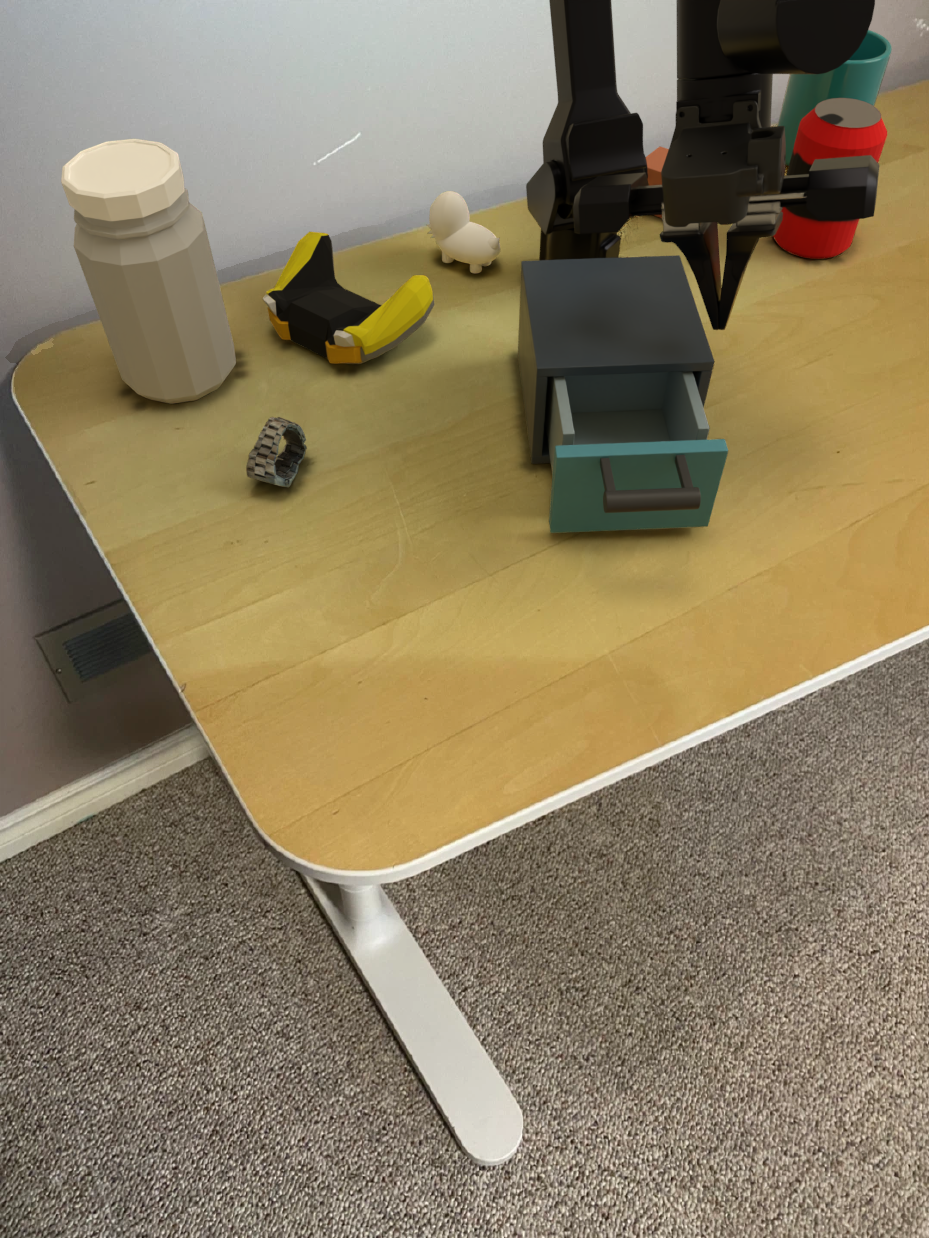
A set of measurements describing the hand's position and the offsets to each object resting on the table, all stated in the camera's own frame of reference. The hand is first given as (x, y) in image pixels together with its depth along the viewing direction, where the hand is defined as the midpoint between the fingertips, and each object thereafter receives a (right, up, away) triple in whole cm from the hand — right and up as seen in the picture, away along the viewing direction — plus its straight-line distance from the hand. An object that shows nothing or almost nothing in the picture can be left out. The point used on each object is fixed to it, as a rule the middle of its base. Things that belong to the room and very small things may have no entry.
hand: (719, 328), depth 67 cm
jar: (-42, +1, +15) cm, 45 cm away
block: (+2, +22, +31) cm, 38 cm away
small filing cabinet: (-7, -3, +12) cm, 14 cm away
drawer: (-6, -11, +4) cm, 13 cm away
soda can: (+16, +17, +27) cm, 35 cm away
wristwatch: (-32, -10, +7) cm, 34 cm away
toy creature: (-18, +14, +25) cm, 34 cm away
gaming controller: (-29, +5, +19) cm, 35 cm away
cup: (+21, +31, +38) cm, 53 cm away
